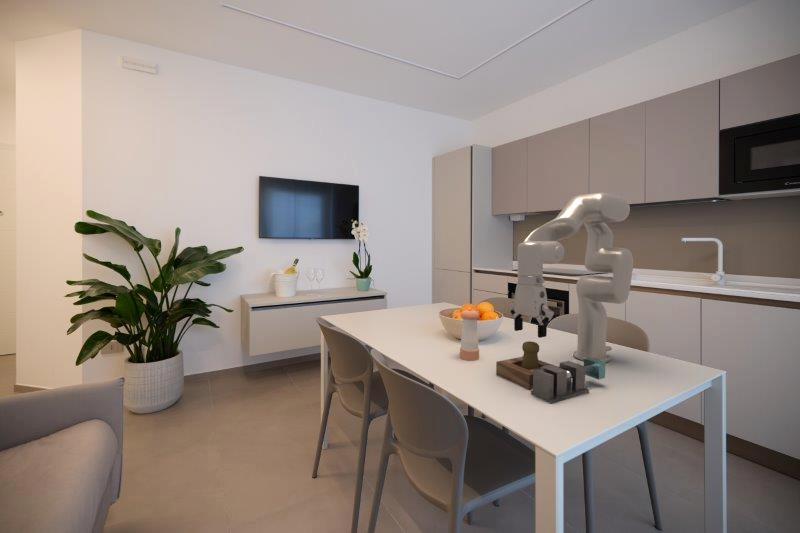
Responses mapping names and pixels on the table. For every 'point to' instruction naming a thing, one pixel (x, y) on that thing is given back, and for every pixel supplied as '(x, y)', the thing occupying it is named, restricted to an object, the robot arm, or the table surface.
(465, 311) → the salt shaker
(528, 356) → the olive brown pear shape
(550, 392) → the shaft bracket
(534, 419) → the table surface
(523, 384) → the walnut holder
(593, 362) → the steel shaft
